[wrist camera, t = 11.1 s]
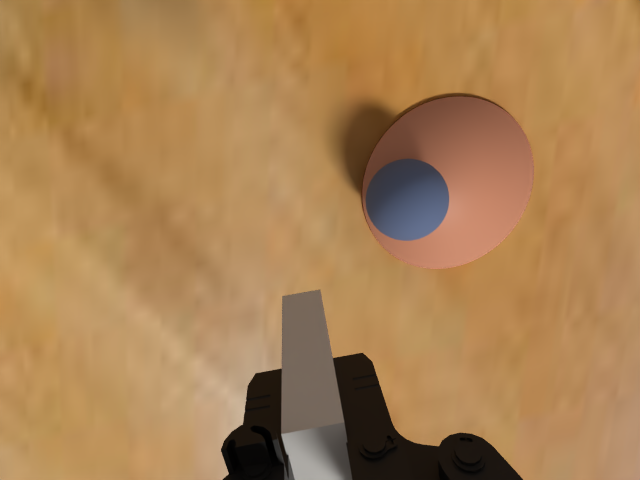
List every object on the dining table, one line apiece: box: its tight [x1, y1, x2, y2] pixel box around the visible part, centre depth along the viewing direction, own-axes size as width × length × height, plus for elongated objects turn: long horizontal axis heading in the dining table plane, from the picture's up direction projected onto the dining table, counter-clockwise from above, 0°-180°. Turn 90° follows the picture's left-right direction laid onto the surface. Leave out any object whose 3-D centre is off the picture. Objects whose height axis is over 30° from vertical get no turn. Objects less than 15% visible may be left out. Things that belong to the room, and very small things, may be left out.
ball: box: [366, 159, 449, 241], centre depth 26 cm, size 6×6×6 cm
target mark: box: [362, 96, 534, 269], centre depth 29 cm, size 13×13×1 cm
